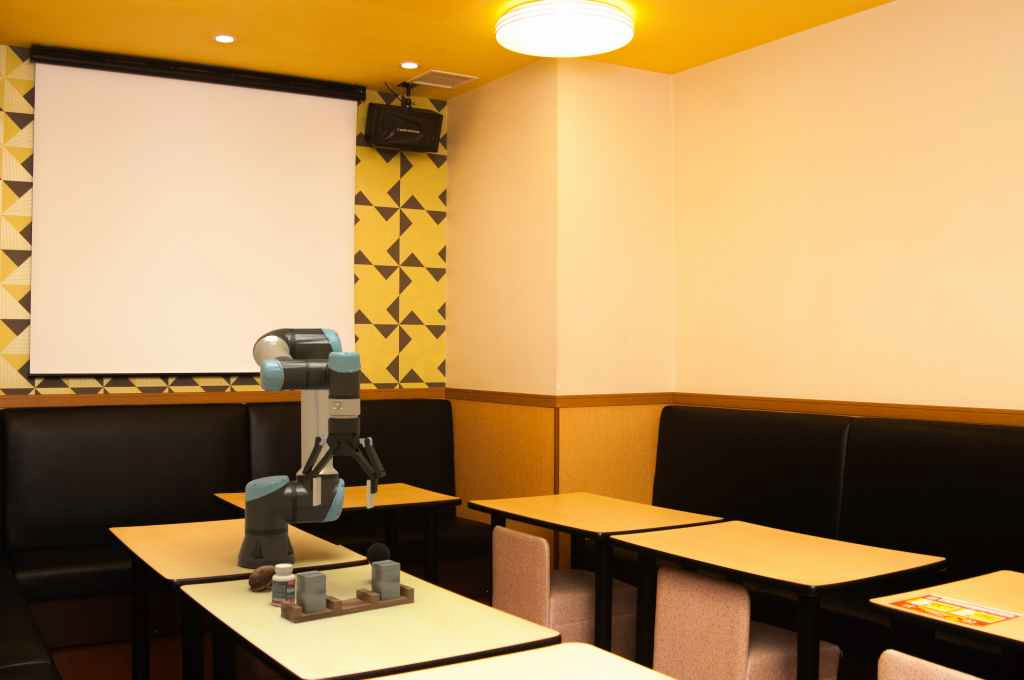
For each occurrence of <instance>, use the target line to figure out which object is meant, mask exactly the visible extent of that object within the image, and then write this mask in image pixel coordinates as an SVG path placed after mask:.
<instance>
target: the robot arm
mask: <svg viewBox="0 0 1024 680" xmlns="http://www.w3.org/2000/svg"><path fill="white" fill-rule="evenodd" d="M252 356H253V360H254V361H255V364H256V365H257V366H258V367H259V369H260V372H259V381H260V382H259V383H260V388H262V390H264V391H273V392H279V391H300V408H301V409H300V410H301V411H300V414H301V415H300V421H301V423H300V424H301V425H300V426H301V432H300V433H301V435H300V436H301V441H300V442H301V445H300V446H301V467H300V469H299V470H298V471H297V472H296V474H295V480H290V478H289V476H288V475H273V476H266V477H260V478H256V479H253V480H251V481H249V482H248V483H247V484H246V485H245V491H244V492H245V494H244V502H245V503H244V537H243V540H242V543H241V545H240V548H239V552H238V555H237V565H238V566H239V565H240V567H242V566H244V567H243V568H246V567H251V568H250V569H257V568H259V567H261V566H274V567H275V566H276V565H278V564H290V563H293V562H294V561H295V559H296V558H295V556H296V555H295V551H294V548H293V544H292V542H291V539H290V535H289V524H305V523H306V524H307V523H325V522H333V521H337V520H338V519H339V518H340V516H341V514H342V511H343V506H344V501H345V481H344V479H342V478H339V472H338V470H336V469H335V468H334V466H333V464H334V463H333V457H335V456H336V457H340V456H344V457H352V459H354V460H355V461H356V462H357V464H358V465H359V467H360V468H361V469H362V470H363V472H364V473H365V474H366V475H367V477H368V478H369V479H367V480H366V509H372V508H375V494H377V493H378V491H379V489H378V487H379V479H380V478H383V477H386V476H387V475H386V474H387V473H386V471H385V469H384V466H383V464H382V461H381V460H380V457H379V455H378V453H377V452H376V449H375V447H374V439H373V437H371V436H369V437H365V438H361V435H360V432H361V418H360V417H359V415H361V369H362V364H361V355H360V353H359V352H356V351H343V346H342V341H341V338H340V335H339V334H338V332H337V331H336V330H335V329H330V328H322V327H321V328H318V327H317V328H292V327H291V328H289V327H285V328H283V327H282V328H277V329H273V330H271V331H267V332H266V333H264V334H262V335H261V336H260V337H259V338H258V339H257V340H256V342H255V343H254V345H253V348H252ZM361 444H362V447H363V448H365V452H366V455H367V456H368V459H369V461H370V463H371V464H370V463H369V461H368V460H367V459H366V457H365V456H364V455H363V453H362V451H361V450H360V448H359V447H361ZM294 563H295V562H294ZM294 563H293V564H294Z"/></svg>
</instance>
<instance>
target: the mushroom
mask: <svg viewBox="0 0 1024 680" xmlns="http://www.w3.org/2000/svg"><path fill="white" fill-rule="evenodd" d="M275 574H276V572H275V567H274V566H261V567H259V568H254V570H253V571H252V572H251V574H250V575H249V577H248V586H249V588H250V589H251V590H252V591H254V592H258V591H261V590H262V589H267V590H269V589H272V577H273V576H274V575H275Z"/></svg>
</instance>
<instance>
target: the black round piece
mask: <svg viewBox="0 0 1024 680" xmlns="http://www.w3.org/2000/svg"><path fill="white" fill-rule="evenodd" d="M390 557H391V552H390V549H389V547H388V546H387V545H386V544H385V543H382V542H377V543H372V544H371V545H370V546H369V547H368V549H367V551H366V560H367V562H368V563H369V564H370V566H371V568H372V562H379V561H386V560H390Z"/></svg>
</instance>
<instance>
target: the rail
mask: <svg viewBox="0 0 1024 680" xmlns="http://www.w3.org/2000/svg"><path fill="white" fill-rule="evenodd" d="M370 586H371V590H370V589H367V588H365V587H362V588H357V589H355V590H356V591H355V594H356V595H355V597H354V598H348V599H340V598H336V597H335V596H333V595H330V594H328V593H327V574H326V573H323V572H321V571H318V570H311V571H303V572H297V573H296V587H295V603H292V602H289V601H282V602H281V606H280V617H282V618H283V619H285V620H288V621H290V622H291V623H294V624H299V623H305V622H309V621H316V620H323V619H327V618H332V617H334V618H335V617H338V616H344V615H350V614H356V613H360V612H367V611H372V610H378V609H384V608H389V607H390V608H391V607H396V606H399V605H400V606H401V605H406V604H411V603H415V588H413V587H411V586H409V585H405V584H402V583H401V563H400V562H398V561H397V562H396V561H394V560H391V559H389V560H386V561H379V562H372V567H371V585H370Z"/></svg>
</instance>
